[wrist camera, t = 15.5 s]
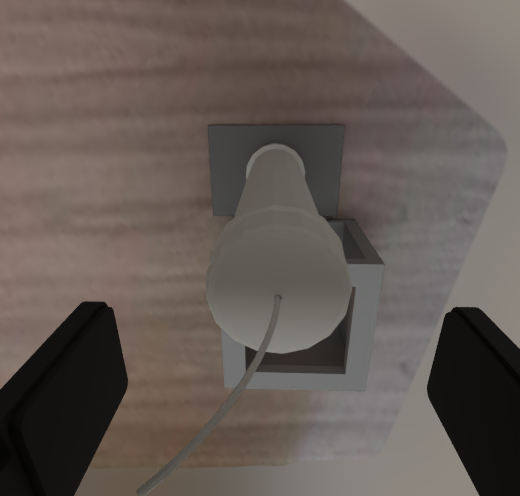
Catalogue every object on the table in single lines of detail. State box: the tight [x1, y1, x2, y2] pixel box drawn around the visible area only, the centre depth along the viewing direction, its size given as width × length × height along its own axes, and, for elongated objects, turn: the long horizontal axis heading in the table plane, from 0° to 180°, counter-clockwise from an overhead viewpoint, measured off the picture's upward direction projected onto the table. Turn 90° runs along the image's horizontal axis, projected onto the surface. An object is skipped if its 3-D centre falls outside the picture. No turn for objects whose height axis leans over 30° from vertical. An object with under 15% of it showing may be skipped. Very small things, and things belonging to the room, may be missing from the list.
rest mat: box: [208, 125, 345, 217], centre depth 35 cm, size 9×13×1 cm
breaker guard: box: [221, 219, 385, 392], centre depth 34 cm, size 13×13×11 cm
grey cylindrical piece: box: [137, 143, 352, 496], centre depth 21 cm, size 6×6×30 cm
